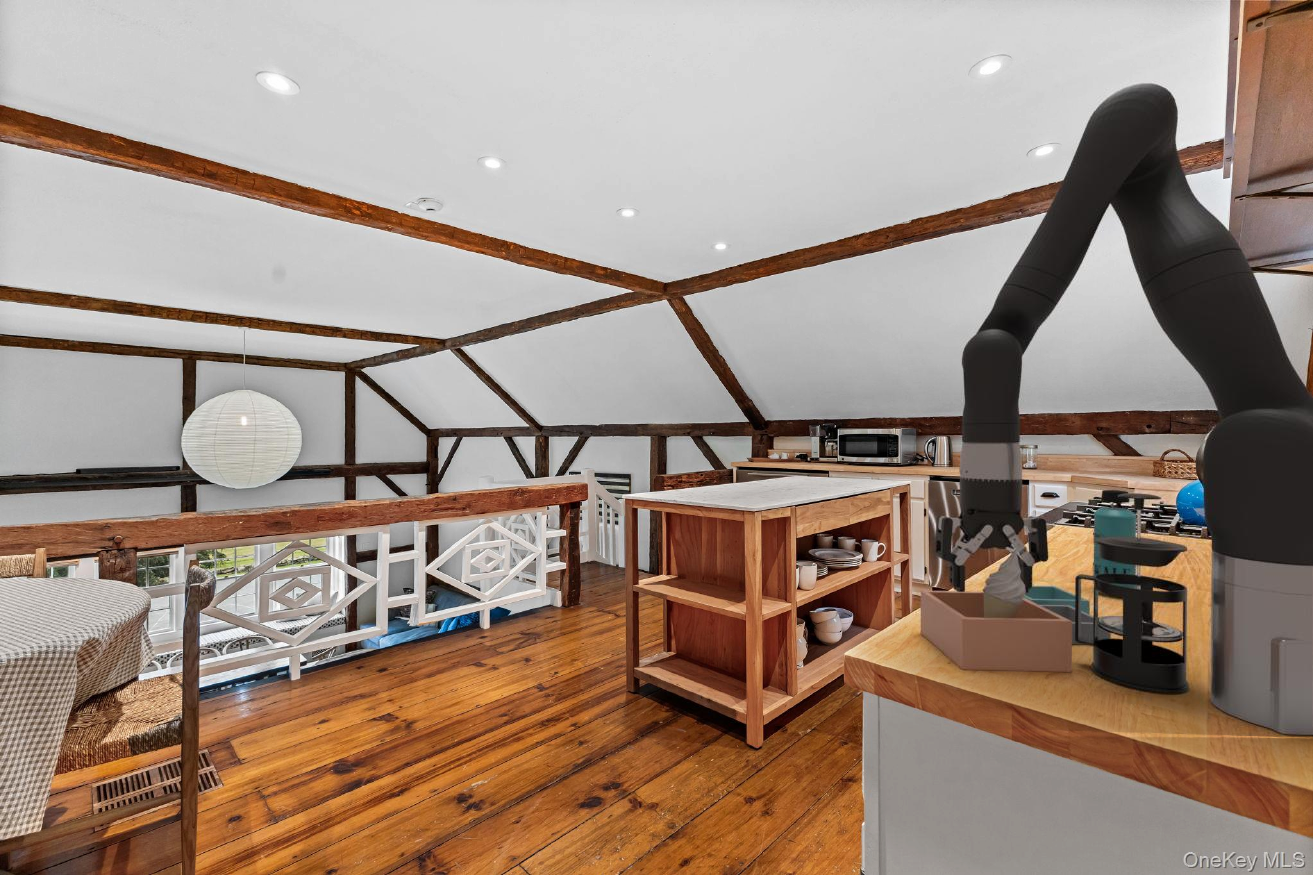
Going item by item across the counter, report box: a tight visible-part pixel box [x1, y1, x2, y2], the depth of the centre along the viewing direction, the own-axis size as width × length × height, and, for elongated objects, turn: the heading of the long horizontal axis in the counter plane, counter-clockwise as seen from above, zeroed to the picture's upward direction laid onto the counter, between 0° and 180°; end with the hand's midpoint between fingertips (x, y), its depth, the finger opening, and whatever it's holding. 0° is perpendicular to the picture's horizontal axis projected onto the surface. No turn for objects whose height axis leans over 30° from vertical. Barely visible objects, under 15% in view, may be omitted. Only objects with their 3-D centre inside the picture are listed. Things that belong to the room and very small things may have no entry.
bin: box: [920, 590, 1073, 673], centre depth 81 cm, size 14×14×6 cm
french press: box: [1074, 492, 1190, 695], centre depth 73 cm, size 12×9×23 cm
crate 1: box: [1024, 585, 1091, 615], centre depth 100 cm, size 9×9×3 cm
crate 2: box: [1040, 605, 1112, 645], centre depth 88 cm, size 9×9×3 cm
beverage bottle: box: [1092, 489, 1137, 589], centre depth 108 cm, size 6×7×20 cm
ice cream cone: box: [982, 549, 1026, 618], centre depth 80 cm, size 5×5×15 cm
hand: (990, 591), depth 81 cm, fingers open, 8 cm apart
